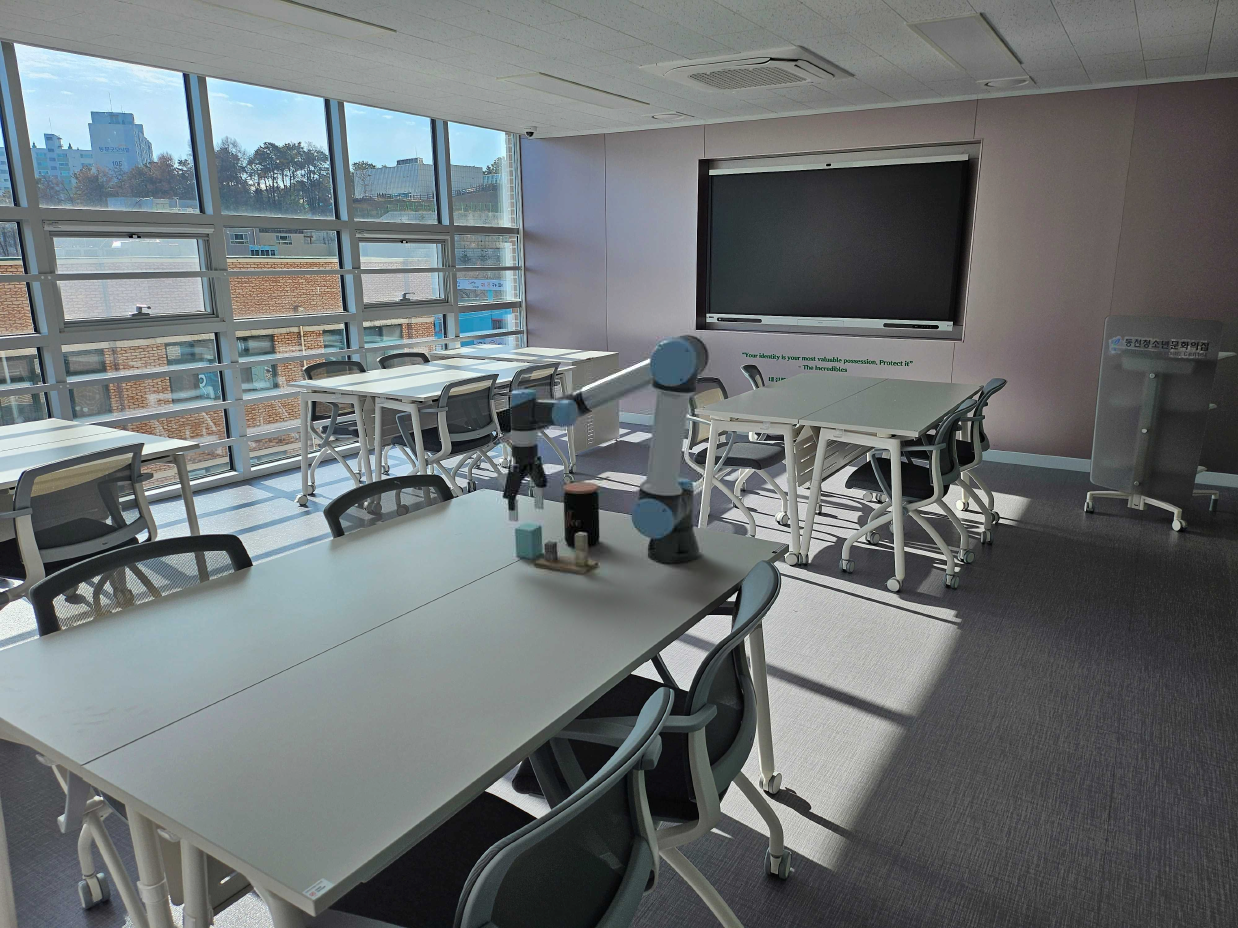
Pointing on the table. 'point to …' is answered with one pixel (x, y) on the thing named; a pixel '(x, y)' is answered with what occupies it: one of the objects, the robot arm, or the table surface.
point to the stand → (568, 563)
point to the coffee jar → (581, 512)
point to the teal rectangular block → (528, 540)
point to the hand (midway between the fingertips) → (526, 514)
